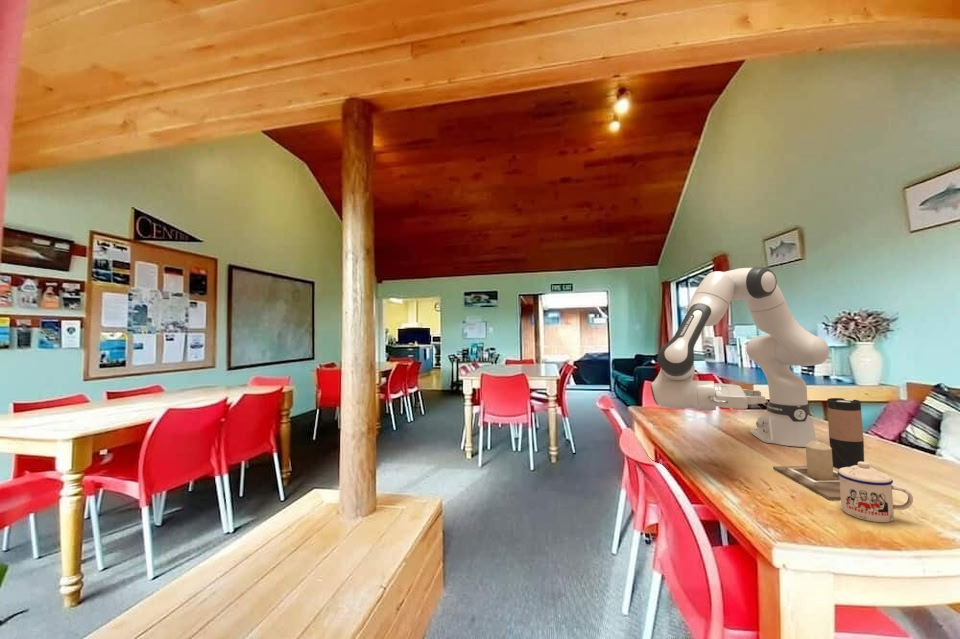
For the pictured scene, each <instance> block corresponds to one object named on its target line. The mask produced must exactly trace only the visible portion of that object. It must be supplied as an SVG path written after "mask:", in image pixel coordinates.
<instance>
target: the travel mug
mask: <svg viewBox="0 0 960 639" xmlns="http://www.w3.org/2000/svg"><path fill="white" fill-rule="evenodd" d="M826 401H827V403H826V404H827V405H826V406H827V422H828V424H827V425H828V439H829V446H830V447H831V448H832V462H833V467H834V468H836V469H838V470H839V469H840V468H843V467H851V466H854V465H858V462H865V442H864V431H863V430H864V427H863V418H862V416H863V415H862V405H861V404H862V402H861V401H860V400H858V399H853V400H846V399H845V398H841V397H838V398H837V397H833V398H832V397H830V398H827V400H826Z"/></svg>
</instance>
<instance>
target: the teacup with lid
mask: <svg viewBox="0 0 960 639" xmlns="http://www.w3.org/2000/svg"><path fill="white" fill-rule="evenodd" d="M837 472H838V475H839V479H840V494H841V500H840V507H841V509H842V511H843V513H846V514H847V515H849V516H851V517H853V518H856V519H859V520H864V521H867V522H872V521H873V522H874V523H890V522H893V520H894V519H895V514H894V510H898V511H900V510H906V509H908V508H910V507H911V506H912V504H913V503H914V496H913V495H912V493H911V492H910V491H909V490H908V489H907V488H904V487H902V486H899V485H893V483H894V480H893V478H892V477H891V476H890V475H889V474H887V473H885V472H881V471H879V470H878V469H875V468H873V467H872V466H871V465H870V463H869V462H866V461H864V462H858V465H854V466H851V467H843V468H840V469H838V471H837ZM893 490H895V491H899V492H902V493H904V494H906V495H907V500H906V501H905V503H903V504H902V505H901V504H894V500H893V499H894V497H893Z"/></svg>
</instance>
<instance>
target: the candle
mask: <svg viewBox="0 0 960 639" xmlns="http://www.w3.org/2000/svg"><path fill="white" fill-rule="evenodd" d="M805 457H806V466H807V474H808V477H810V478H812V479H815V480H820V481H827V480H833V470H834V468H833V467H834V466H833V462H832V448H831V447H830V445H828V444H827V443H825V442H823V441H820V440H819V441H817V440H813V441H810V442H809V443H808V444H806V447H805Z"/></svg>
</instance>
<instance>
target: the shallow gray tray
mask: <svg viewBox="0 0 960 639" xmlns="http://www.w3.org/2000/svg"><path fill="white" fill-rule="evenodd" d="M772 468H773V471H776V472H778V473H780V474H781V475H783V476H784V477H787V478H789V479H790V480H792V481H794V482H795V483H798V484H800V485H801V486H803V487H805V488H806V489H808V490H810V491H812V492H813V493H815V494H817V495H819V496H821V497H823V498H824V499H826V500H828V501H841V494H840V479H839V475H838V471H836V470H834V469H833V480H827V481H820V480H815V479H812V478H810V477H808V474H807V465H800V466H799V465H797V466H796V465H795V466H792V465H791V466H785V465H783V466H779V465H778V466H776V465H775V466H774V465H773V466H772Z"/></svg>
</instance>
